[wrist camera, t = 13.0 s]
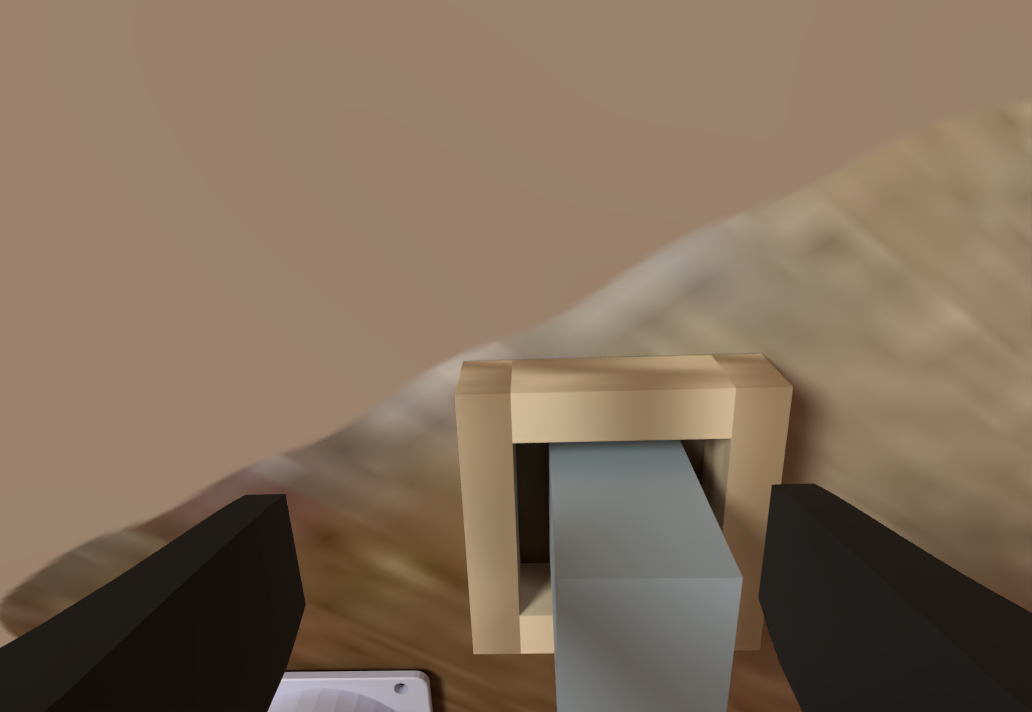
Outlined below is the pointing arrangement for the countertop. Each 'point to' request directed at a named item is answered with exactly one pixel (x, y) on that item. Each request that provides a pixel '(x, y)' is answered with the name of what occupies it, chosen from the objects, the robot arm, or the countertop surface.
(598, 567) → the slate square peg
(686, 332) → the countertop surface
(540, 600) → the birch well block
